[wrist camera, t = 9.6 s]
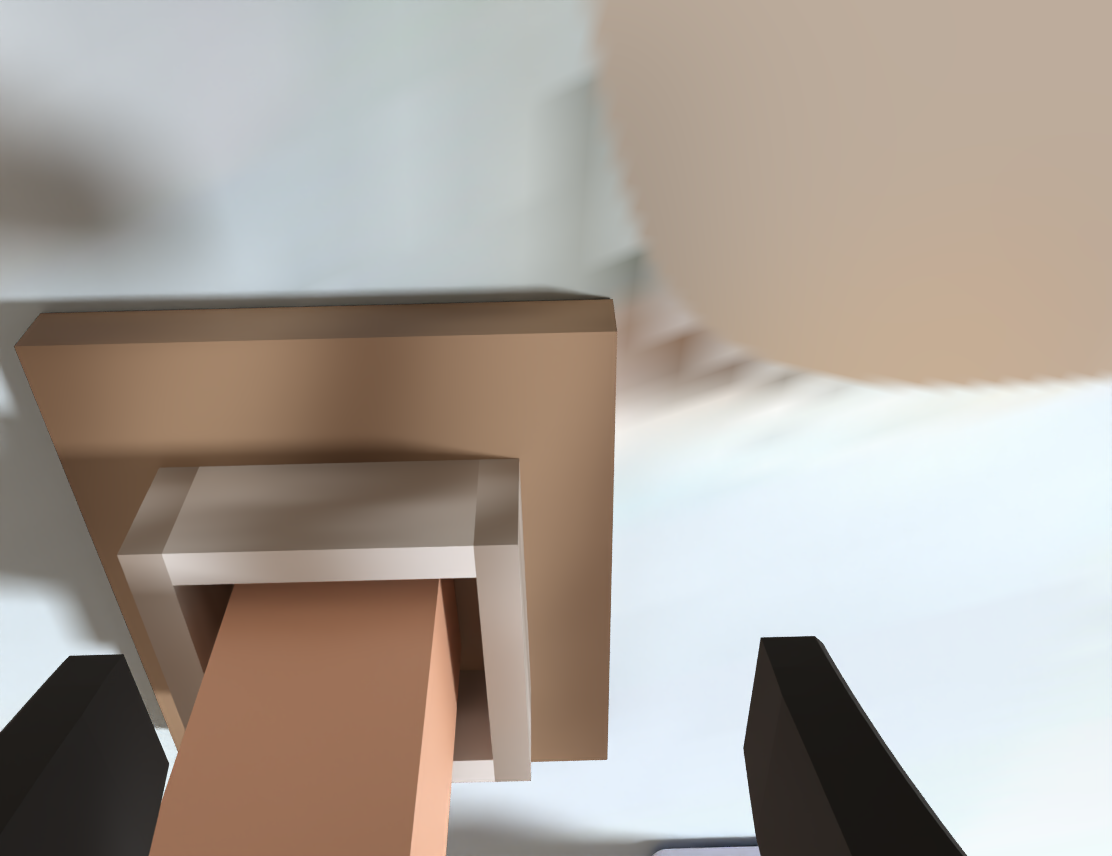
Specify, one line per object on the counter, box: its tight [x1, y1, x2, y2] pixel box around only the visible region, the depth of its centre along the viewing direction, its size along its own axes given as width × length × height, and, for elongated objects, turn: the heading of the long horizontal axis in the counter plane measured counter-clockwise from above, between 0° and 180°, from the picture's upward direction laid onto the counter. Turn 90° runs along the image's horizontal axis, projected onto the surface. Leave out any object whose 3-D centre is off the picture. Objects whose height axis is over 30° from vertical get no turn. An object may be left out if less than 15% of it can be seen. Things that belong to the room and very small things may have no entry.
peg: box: [149, 578, 462, 856], centre depth 19 cm, size 4×4×8 cm
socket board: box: [14, 299, 617, 783], centre depth 21 cm, size 11×13×4 cm
